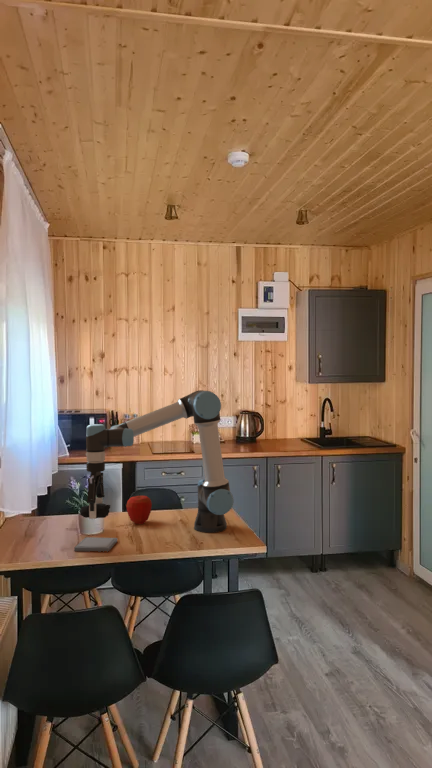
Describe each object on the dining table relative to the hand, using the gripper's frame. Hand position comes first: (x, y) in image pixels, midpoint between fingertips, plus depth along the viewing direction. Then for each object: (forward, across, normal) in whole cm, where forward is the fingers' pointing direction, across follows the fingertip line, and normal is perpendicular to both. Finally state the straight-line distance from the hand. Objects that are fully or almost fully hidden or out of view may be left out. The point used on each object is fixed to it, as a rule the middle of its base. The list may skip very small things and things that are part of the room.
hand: (96, 515), depth 234 cm
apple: (+13, -36, +10) cm, 40 cm away
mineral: (+1, 0, 0) cm, 1 cm away
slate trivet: (+13, 0, 0) cm, 13 cm away
